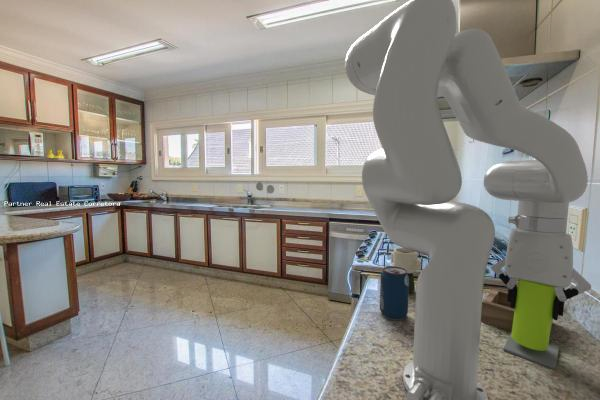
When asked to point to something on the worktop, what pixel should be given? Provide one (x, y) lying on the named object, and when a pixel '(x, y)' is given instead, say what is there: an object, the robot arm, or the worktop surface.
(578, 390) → the worktop surface
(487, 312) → the walnut stand
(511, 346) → the rubber mat
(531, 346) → the soap dispenser
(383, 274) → the soda can
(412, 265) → the character mug
